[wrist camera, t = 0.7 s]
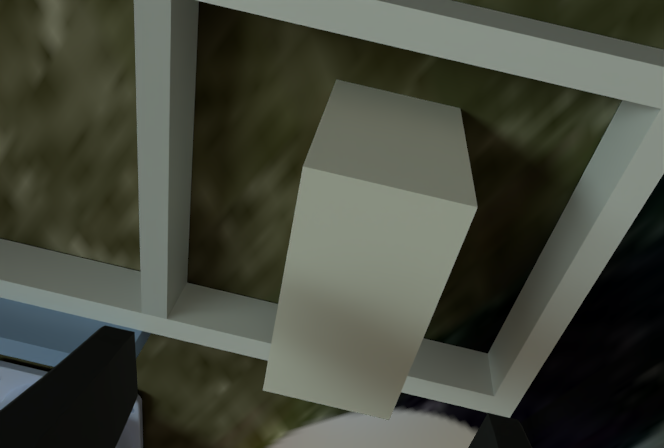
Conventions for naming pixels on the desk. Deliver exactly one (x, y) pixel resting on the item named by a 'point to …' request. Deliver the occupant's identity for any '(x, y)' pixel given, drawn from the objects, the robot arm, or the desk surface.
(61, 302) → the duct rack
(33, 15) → the desk surface
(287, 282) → the cream rectangular block
